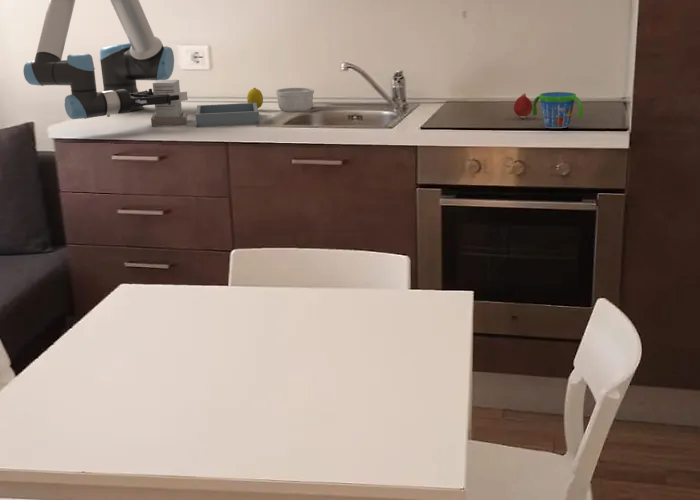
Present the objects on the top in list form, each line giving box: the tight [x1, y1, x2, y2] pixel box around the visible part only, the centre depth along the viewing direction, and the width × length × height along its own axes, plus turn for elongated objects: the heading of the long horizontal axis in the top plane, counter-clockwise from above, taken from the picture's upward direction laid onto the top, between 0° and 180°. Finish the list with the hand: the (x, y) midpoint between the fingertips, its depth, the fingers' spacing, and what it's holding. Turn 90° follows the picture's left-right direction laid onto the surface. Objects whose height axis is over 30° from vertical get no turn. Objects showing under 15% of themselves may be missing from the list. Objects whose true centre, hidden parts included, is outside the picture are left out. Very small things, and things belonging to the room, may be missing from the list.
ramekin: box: [275, 87, 315, 113], centre depth 310 cm, size 13×13×7 cm
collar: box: [150, 111, 188, 127], centre depth 291 cm, size 11×11×2 cm
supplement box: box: [152, 79, 183, 118], centre depth 289 cm, size 7×7×13 cm
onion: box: [513, 93, 533, 117], centre depth 279 cm, size 6×6×8 cm
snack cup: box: [531, 91, 584, 127], centre depth 261 cm, size 16×10×10 cm
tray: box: [195, 102, 260, 128], centre depth 292 cm, size 20×20×4 cm
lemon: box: [246, 87, 264, 109], centre depth 310 cm, size 6×6×8 cm
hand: (179, 94), depth 291 cm, fingers closed on supplement box, 10 cm apart
